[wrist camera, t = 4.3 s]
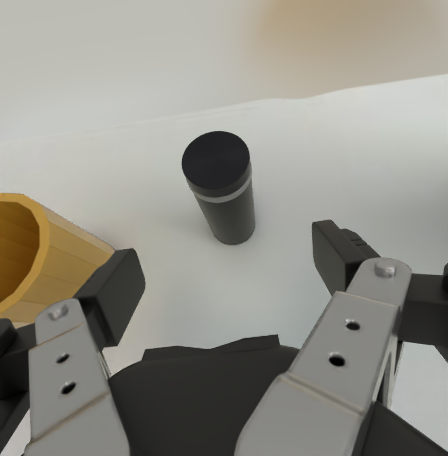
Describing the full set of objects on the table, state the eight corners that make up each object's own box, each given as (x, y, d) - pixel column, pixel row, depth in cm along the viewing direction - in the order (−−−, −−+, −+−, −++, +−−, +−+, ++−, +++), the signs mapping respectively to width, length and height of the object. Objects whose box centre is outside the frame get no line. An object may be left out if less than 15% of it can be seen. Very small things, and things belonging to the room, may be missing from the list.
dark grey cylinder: (247, 198, 24) (238, 121, 16) (261, 237, 23) (260, 175, 14) (206, 211, 25) (174, 142, 16) (217, 251, 23) (188, 198, 14)
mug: (78, 227, 26) (-10, 175, 17) (142, 264, 24) (76, 224, 15) (-3, 335, 23) (-155, 334, 15) (61, 389, 21) (-75, 424, 12)
